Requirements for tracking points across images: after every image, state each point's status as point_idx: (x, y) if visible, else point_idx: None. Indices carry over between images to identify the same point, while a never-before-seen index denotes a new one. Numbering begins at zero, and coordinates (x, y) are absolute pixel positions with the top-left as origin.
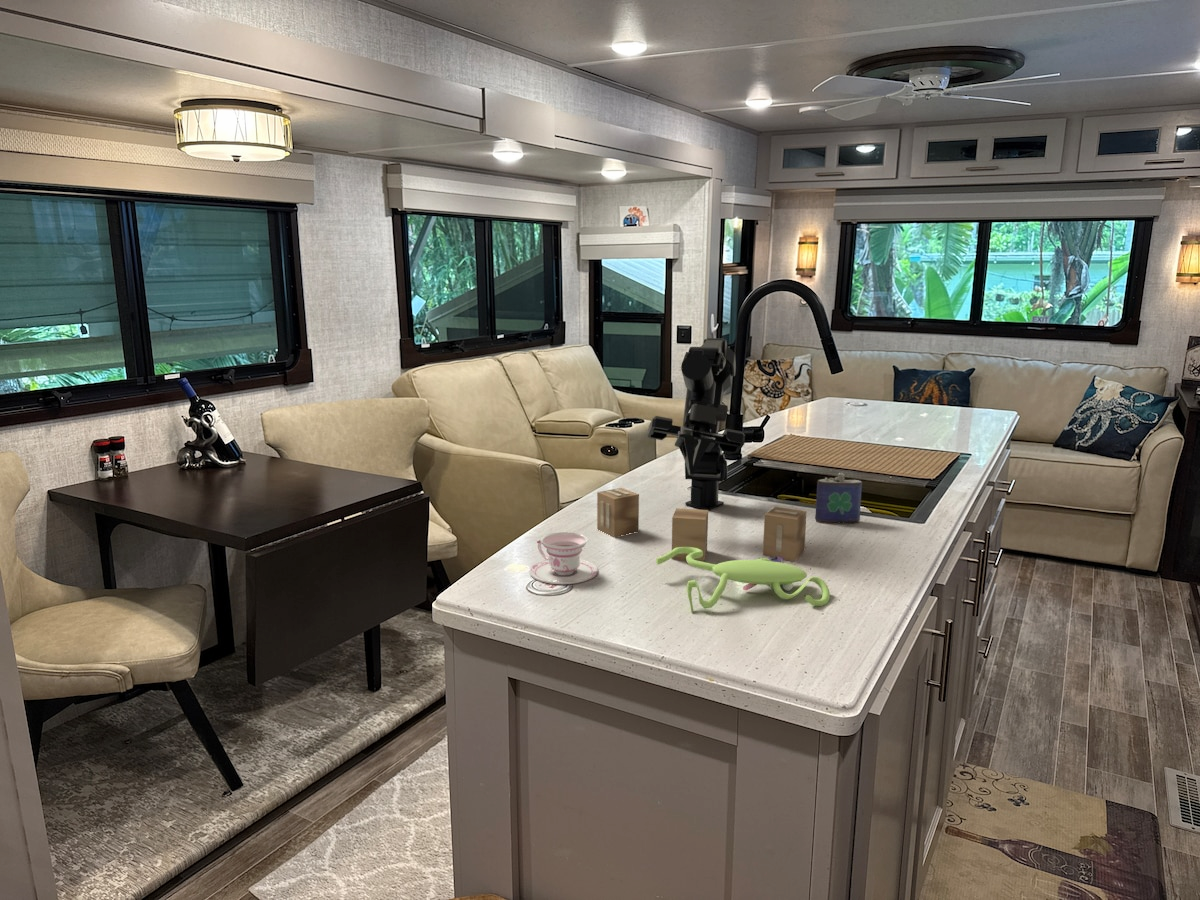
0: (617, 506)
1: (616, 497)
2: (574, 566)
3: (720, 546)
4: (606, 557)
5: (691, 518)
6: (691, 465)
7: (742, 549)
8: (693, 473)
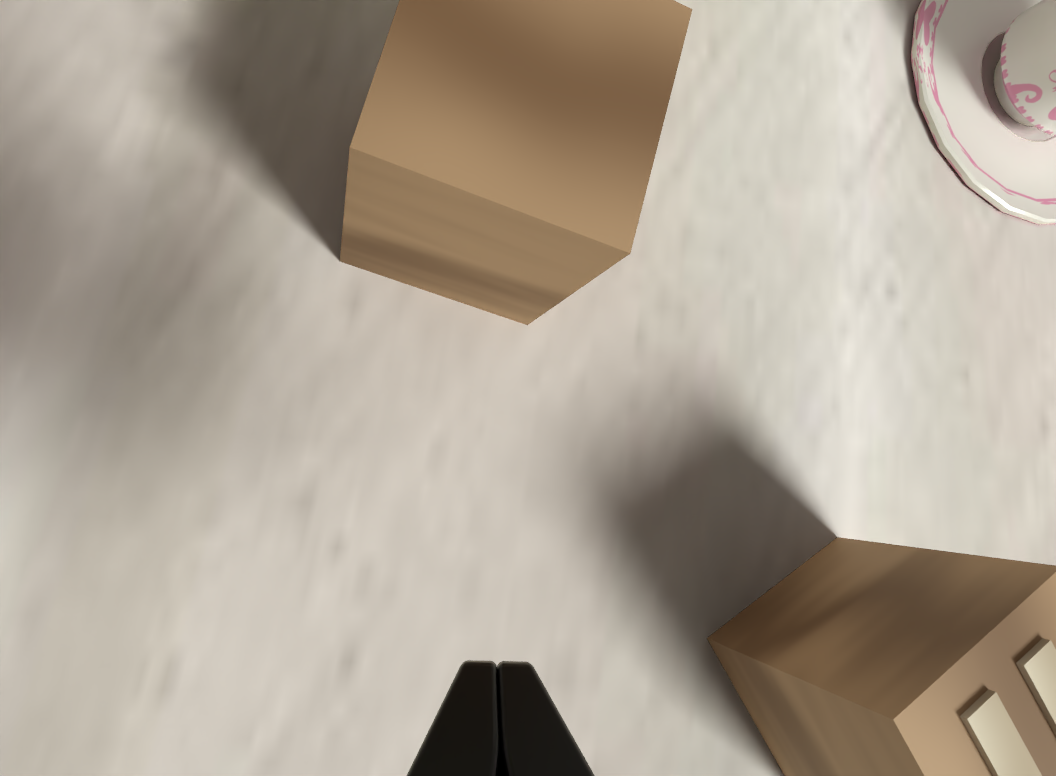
0: (983, 572)
1: (1049, 615)
2: (1028, 9)
3: (227, 327)
4: (875, 232)
5: None
6: (536, 755)
7: (78, 249)
8: (473, 661)
